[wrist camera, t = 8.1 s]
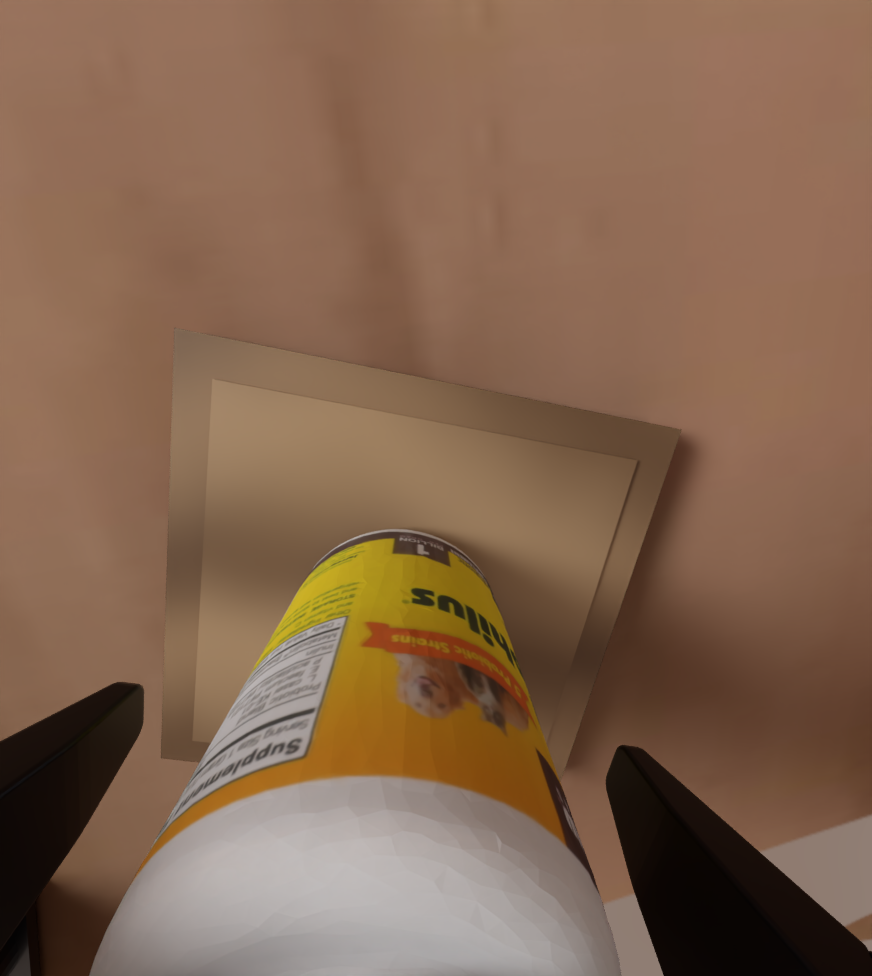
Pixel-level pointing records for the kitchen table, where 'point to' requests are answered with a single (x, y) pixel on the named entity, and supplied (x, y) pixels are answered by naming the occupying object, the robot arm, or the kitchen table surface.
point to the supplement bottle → (372, 799)
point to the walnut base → (389, 514)
